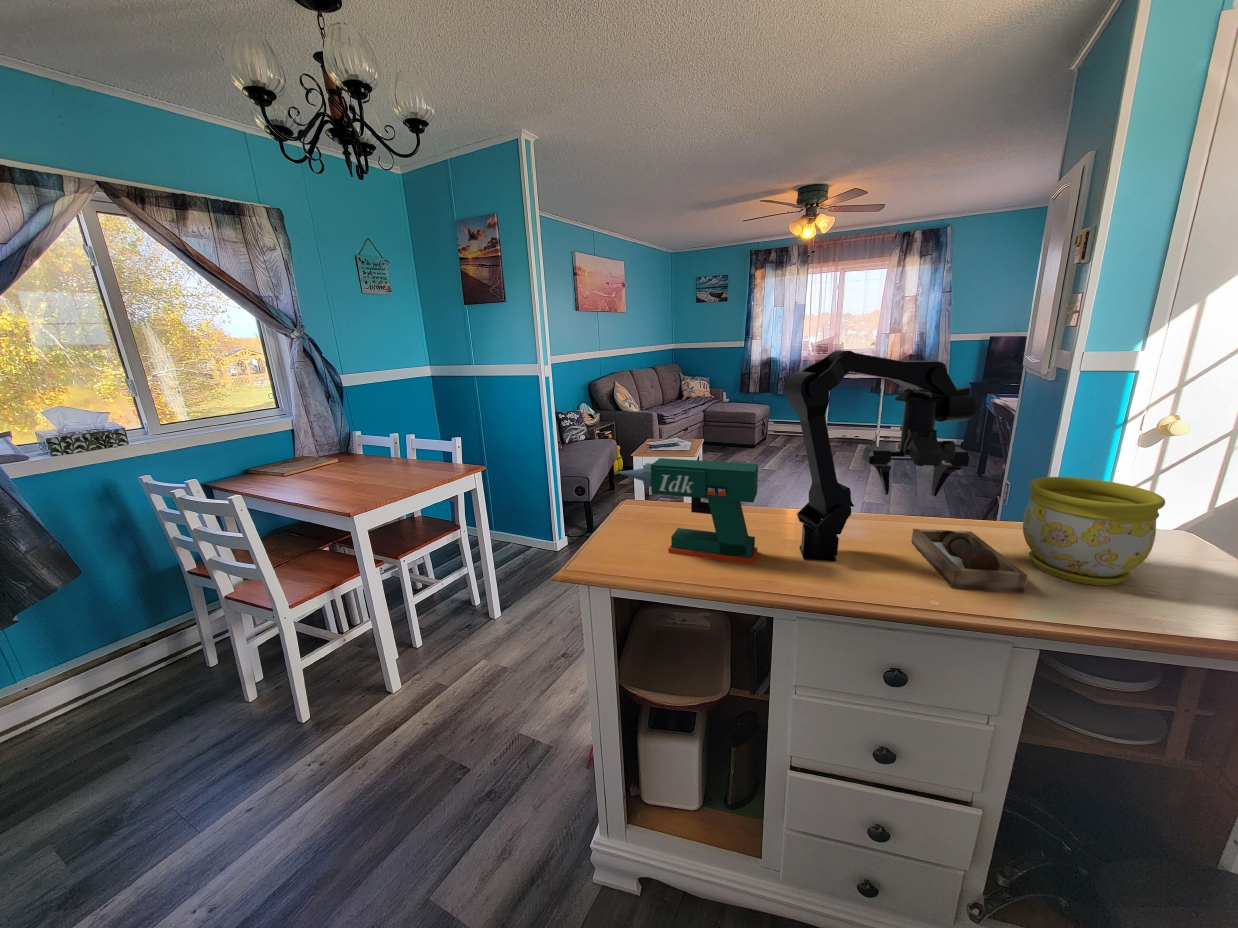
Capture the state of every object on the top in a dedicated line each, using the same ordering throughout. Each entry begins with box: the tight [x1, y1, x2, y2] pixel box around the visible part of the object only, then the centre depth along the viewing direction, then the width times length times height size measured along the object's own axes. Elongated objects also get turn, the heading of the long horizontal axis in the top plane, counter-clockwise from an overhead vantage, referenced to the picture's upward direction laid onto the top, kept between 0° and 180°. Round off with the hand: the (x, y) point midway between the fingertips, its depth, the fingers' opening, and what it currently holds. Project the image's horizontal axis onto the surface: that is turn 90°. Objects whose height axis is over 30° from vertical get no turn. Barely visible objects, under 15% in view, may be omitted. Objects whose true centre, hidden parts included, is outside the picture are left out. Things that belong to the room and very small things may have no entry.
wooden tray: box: [910, 528, 1028, 594], centre depth 95 cm, size 11×20×4 cm, turn 168°
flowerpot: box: [1022, 476, 1166, 586], centre depth 90 cm, size 18×18×16 cm
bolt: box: [939, 530, 1000, 571], centre depth 95 cm, size 6×5×15 cm
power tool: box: [615, 457, 759, 566], centre depth 105 cm, size 32×7×20 cm, turn 68°
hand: (909, 495), depth 102 cm, fingers open, 9 cm apart
